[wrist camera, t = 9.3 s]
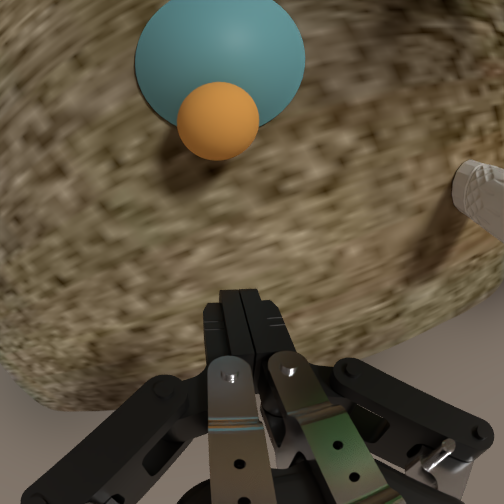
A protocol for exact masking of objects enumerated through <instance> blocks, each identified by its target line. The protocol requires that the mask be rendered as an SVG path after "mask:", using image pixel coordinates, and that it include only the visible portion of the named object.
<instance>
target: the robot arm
mask: <svg viewBox="0 0 504 504" xmlns="http://www.w3.org/2000/svg"><path fill="white" fill-rule="evenodd" d="M203 324H204V344H205V354H206V364H207V365H206V368H205V369H204V370H203V371H202V372H201V373H200V374H199V375H197V376H195V377H193V378H190V379H187V380H184V381H182V380H180V379H179V378H177V377H175V376H172V375H158V376H155V377H153V378H151V379H149V380H148V381H147V382H146V383H145V384H144V385H143V386H142V387H140V388H139V389H138V390H137V391H136V392H135V393H134V394H133V395H132V396H131V397H130V398H129V399H128V400H126V401H125V402H124V403H123V404H122V405H121V406H120V407H119V408H118V409H117V410H116V411H114V412H113V413H112V414H111V415H110V416H109V417H108V418H107V419H106V420H105V421H103V422H102V423H101V424H100V425H99V426H98V427H97V428H96V429H95V430H93V432H91V433H90V434H89V435H88V436H87V437H86V438H85V439H84V440H82V441H81V442H80V443H79V444H78V445H77V446H76V447H75V448H73V449H72V450H71V451H70V452H69V453H68V454H67V455H65V456H64V457H63V458H62V459H61V460H60V461H59V462H57V463H56V464H55V465H54V466H53V467H52V468H51V469H49V471H47V472H46V473H45V474H44V475H42V476H41V477H40V478H39V479H38V480H37V481H36V482H34V483H33V484H32V485H31V486H30V487H28V488H27V489H26V490H25V491H24V493H23V494H22V497H21V504H136V503H137V502H138V501H139V500H140V499H141V498H142V497H143V496H144V495H145V494H146V493H147V492H148V491H149V490H150V488H151V487H152V486H153V485H154V484H155V483H156V482H157V481H158V480H159V479H160V477H161V476H162V475H163V474H164V473H165V472H166V471H167V470H168V468H169V467H170V466H171V465H172V464H173V463H174V462H175V460H176V459H177V458H178V457H179V456H180V455H181V453H182V452H183V451H184V450H185V449H186V448H187V446H188V445H189V444H190V443H191V441H192V440H193V438H195V437H198V436H201V435H204V434H207V433H208V441H209V466H210V479H208V480H206V481H203V482H201V483H199V484H198V485H196V486H194V487H193V488H191V489H190V490H189V491H187V492H186V493H185V494H184V495H183V496H182V497H181V499H180V500H179V501H178V502H177V504H464V502H462V501H461V498H462V496H463V493H464V490H465V487H466V484H467V481H468V478H469V475H470V472H471V469H472V465H473V462H474V460H475V459H476V458H478V457H479V456H480V455H481V454H482V453H483V452H485V451H486V450H487V449H488V448H490V446H491V445H492V444H493V441H494V432H493V429H492V427H491V426H490V424H489V423H488V422H486V421H485V420H483V419H481V418H479V417H476V416H474V415H472V414H469V413H467V412H465V411H463V410H461V409H459V408H456V407H454V406H452V405H450V404H448V403H445V402H443V401H441V400H439V399H437V398H435V397H433V396H431V395H429V394H426V393H424V392H423V391H420V390H418V389H416V388H414V387H412V386H410V385H408V384H406V383H404V382H402V381H400V380H398V379H396V378H394V377H392V376H390V375H388V374H386V373H384V372H382V371H380V370H378V369H376V368H374V367H373V366H371V365H369V364H367V363H365V362H363V361H361V360H359V359H356V358H343V359H341V360H339V361H337V362H336V364H335V365H334V367H328V366H319V365H314V364H310V363H308V361H307V359H306V358H305V357H304V356H302V355H301V354H299V353H297V352H296V350H295V347H294V345H293V342H292V340H291V338H290V335H289V333H288V330H287V328H286V325H285V323H284V321H283V318H282V316H281V313H280V311H279V308H278V307H277V306H276V305H275V304H274V303H273V302H272V301H270V300H262V301H261V298H260V296H259V293H258V290H257V289H239V290H220V292H219V303H207V305H206V307H205V309H204V311H203ZM255 394H259V395H260V399H261V405H260V412H261V415H262V417H263V420H264V423H265V426H266V429H267V432H268V434H269V437H270V440H271V443H272V445H273V448H274V451H275V457H276V466H277V469H272V468H271V467H270V461H269V456H268V450H267V444H266V438H265V432H264V427H263V423H262V422H261V421H259V417H258V411H257V404H256V398H255ZM357 404H358V405H357ZM359 405H360V406H359ZM361 406H362V407H361ZM363 407H364V408H363ZM365 408H366V409H365ZM367 409H368V410H370V411H371V412H370V411H368V410H367ZM372 412H373V413H372ZM374 413H375V414H374ZM376 414H377V415H376ZM378 415H379V416H378ZM380 416H381V417H380ZM382 417H383V418H382ZM370 453H372V454H374V455H376V456H378V457H381V458H382V459H384V460H386V461H388V462H390V463H392V464H394V465H397V466H399V467H401V468H403V469H405V474H403V473H401V472H399V471H397V470H395V469H393V468H391V467H390V466H388V465H386V464H384V463H382V462H380V461H378V460H376V459H374V458H373V457H372V455H371V454H370Z"/></svg>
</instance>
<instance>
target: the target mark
mask: <svg viewBox="0 0 504 504" xmlns="http://www.w3.org/2000/svg"><path fill="white" fill-rule="evenodd" d="M135 68H136V76H137V80H138V84H139V86H140V89H141V91H142V93H143V95H144V97H145V98H146V100H147V102H148V103H149V104H150V105H151V106H152V108H153V109H154V110H155V111H156V112H157V113H158V114H159V115H160V116H161V117H163V118H164V119H166V120H167V121H168V122H170V123H172V124H174V125H175V126H177V115H178V111H179V109H180V106H181V104H182V102H183V101H184V99H185V98H186V97H187V96H188V95H189V94H190V93H191V92H192V91H193V90H195V89H196V88H198V87H200V86H202V85H205V84H208V83H212V82H226V83H231V84H234V85H236V86H238V87H240V88H242V89H243V90H245V91H246V92H247V93H248V94H249V95H250V96H251V97H252V99H253V101H254V102H255V104H256V106H257V109H258V113H259V126H261V125H263V124H265V123H267V122H268V121H270V120H271V119H273V118H274V117H276V116H277V115H278V114H279V113H280V112H282V111H283V110H284V108H285V107H286V106H287V105H288V104H289V103H290V101H291V100H292V99H293V97H294V96H295V94H296V92H297V90H298V88H299V86H300V83H301V80H302V78H303V73H304V68H305V51H304V45H303V41H302V38H301V35H300V33H299V30H298V28H297V27H296V25H295V23H294V21H293V20H292V19H291V17H290V16H289V15H288V14H287V12H286V11H285V10H284V9H283V8H282V7H281V6H279V5H278V4H277V3H275V2H274V1H273V0H171V1H169V2H168V3H167V4H165V5H164V6H163V7H161V8H160V9H159V10H158V11H157V12H156V13H155V14H154V15H153V17H152V18H151V19H150V21H149V22H148V23H147V25H146V26H145V28H144V30H143V32H142V34H141V36H140V39H139V42H138V45H137V50H136V57H135Z"/></svg>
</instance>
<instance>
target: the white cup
mask: <svg viewBox="0 0 504 504" xmlns="http://www.w3.org/2000/svg"><path fill="white" fill-rule="evenodd" d="M452 198H453V203H454V205H455V207H456V208H457V209H458V210H459V211H460V212H462V213H463V214H465V215H466V216H468V217H469V218H470V219H472V220H473V221H474V222H475V223H477V224H478V225H480V226H481V227H482V228H483V229H485V230H486V231H487V232H489V233H490V234H491V235H493V236H494V237H496V238H497V239H498V240H500V241H501V242H502V243H504V169H502V168H500V167H496V166H493V165H490V164H484V163H480V162H477V161H474V160H471V159H470V160H468V161H466V162H464V163H462V165H461V166H460V167H459V169H458V170H457V172H456V175H455V177H454V180H453V185H452Z"/></svg>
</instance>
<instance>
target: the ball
mask: <svg viewBox="0 0 504 504" xmlns="http://www.w3.org/2000/svg"><path fill="white" fill-rule="evenodd" d="M258 128H259V113H258V109H257V106H256V104H255V102H254V101H253V99H252V97H251V96H250V95H249V94H248V93H247V92H246V91H245V90H243V89H242V88H240V87H238V86H236V85H234V84H231V83H226V82H212V83H208V84H205V85H202V86H200V87H198V88H196V89H195V90H193V91H192V92H191V93H190V94H189V95H188V96H187V97H186V98H185V99H184V101H183V102H182V104H181V106H180V109H179V111H178V115H177V129H178V133H179V136H180V138H181V140H182V142H183V143H184V145H185V146H186V147H187V148H188V149H189V150H190V151H191V152H192V153H194V154H195V155H197V156H199V157H201V158H204V159H208V160H215V161H217V160H226V159H230V158H233V157H235V156H237V155H239V154H241V153H242V152H243V151H245V150H246V149H247V148H248V147H249V146H250V145H251V143H252V142H253V140H254V139H255V137H256V134H257V132H258Z"/></svg>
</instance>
